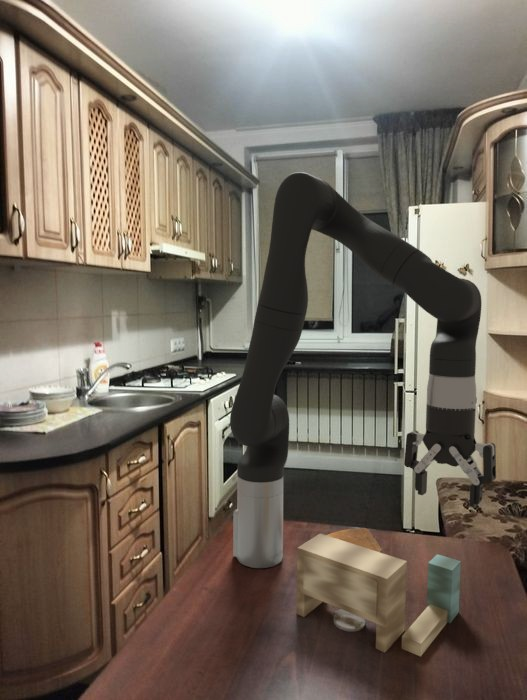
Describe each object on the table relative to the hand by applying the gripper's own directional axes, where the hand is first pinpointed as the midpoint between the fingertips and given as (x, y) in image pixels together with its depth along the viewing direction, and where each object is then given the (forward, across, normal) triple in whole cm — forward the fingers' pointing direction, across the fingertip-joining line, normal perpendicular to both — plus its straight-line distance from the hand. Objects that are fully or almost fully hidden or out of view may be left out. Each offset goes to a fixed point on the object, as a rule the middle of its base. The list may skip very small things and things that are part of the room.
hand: (447, 499), depth 90 cm
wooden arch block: (+20, -11, -12) cm, 26 cm away
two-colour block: (+20, 0, -6) cm, 20 cm away
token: (+20, -11, -12) cm, 26 cm away
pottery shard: (+20, -24, +13) cm, 34 cm away
